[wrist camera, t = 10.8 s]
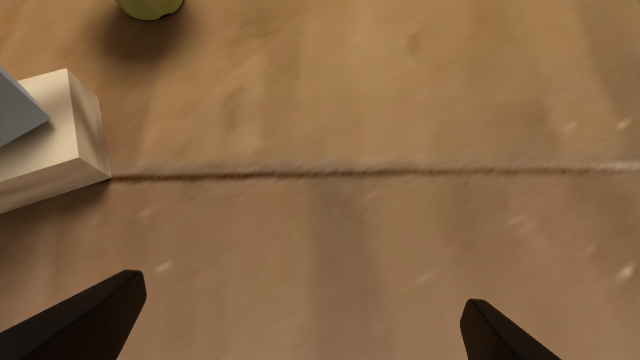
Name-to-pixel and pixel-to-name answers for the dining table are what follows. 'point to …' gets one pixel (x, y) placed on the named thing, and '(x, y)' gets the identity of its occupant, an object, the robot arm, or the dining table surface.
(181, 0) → the plant pot
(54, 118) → the birch base
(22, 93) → the slate post
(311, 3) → the dining table surface
